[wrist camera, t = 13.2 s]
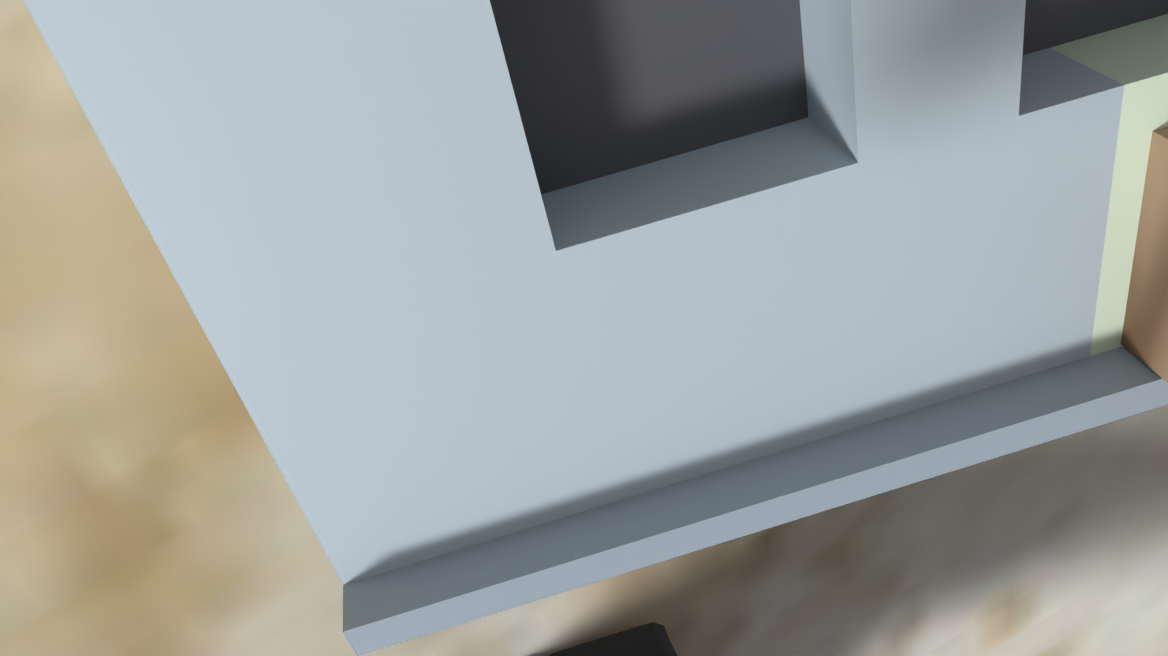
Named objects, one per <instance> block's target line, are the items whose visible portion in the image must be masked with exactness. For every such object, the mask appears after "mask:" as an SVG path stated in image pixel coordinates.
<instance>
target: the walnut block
mask: <svg viewBox="0 0 1168 656" xmlns="http://www.w3.org/2000/svg"><path fill="white" fill-rule="evenodd" d="M1121 344H1122V345H1123V346H1124V347H1125V348H1127V349H1128V350H1129V351H1130V352H1131V353H1133V354H1134V355H1135V356H1136V357H1137V358H1139V359H1140V360H1141V361H1142V362H1143V363H1145V364H1146V365H1147V366H1148V367H1149V368H1150V369H1152V370H1153V371H1154V372H1155V373H1156V374H1158V375H1159V376H1160V377H1161V378H1162V379H1164V380H1165V381H1166V382H1167V383H1168V127H1164V128H1161V129H1158V130H1154V131H1152V137H1151V144H1150V151H1149V157H1148V164H1147V171H1146V178H1145V184H1144V191H1143V198H1142V204H1141V211H1140V218H1139V224H1138V231H1137V238H1136V245H1135V251H1134V258H1133V265H1132V271H1131V278H1130V285H1129V291H1128V298H1127V305H1126V311H1125V318H1124V325H1123V332H1122V338H1121Z"/></svg>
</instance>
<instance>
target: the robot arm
mask: <svg viewBox="0 0 1168 656" xmlns="http://www.w3.org/2000/svg"><path fill="white" fill-rule="evenodd" d="M549 656H677V654H676V652H675V650H674V648H673V646H672V644H671V642H670V640H669V637H668V635H667V633H666V630H665V628H664V626H663V625H660V624H657V623H654V622H652V623H649V624H646V625H643V626H639V627H636V628H633V629H630V630H627V631H623V632H620V633H617V634H614V635H611V636H608V637H604V638H601V639H598V640H595V641H592V642H588V643H585V644H582V645H579V646H576V647H572V648H569V649H566V650H563V651H560V652H556V653H553V654H550V655H549Z"/></svg>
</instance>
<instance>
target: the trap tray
mask: <svg viewBox="0 0 1168 656" xmlns="http://www.w3.org/2000/svg"><path fill="white" fill-rule="evenodd" d="M23 2H24V3H25V5H26V7H27V9H28V11H29V12H30V14H31V16H32V18H33V20H34V22H35V23H36V25H37V27H38V29H39V31H40V33H41V34H42V36H43V38H44V40H45V42H46V43H47V45H48V47H49V49H50V51H51V53H52V54H53V56H54V58H55V60H56V62H57V64H58V65H59V67H60V69H61V71H62V73H63V75H64V76H65V78H66V80H67V82H68V84H69V85H70V87H71V89H72V91H73V93H74V95H75V96H76V98H77V100H78V102H79V104H80V106H81V107H82V109H83V111H84V113H85V115H86V116H87V118H88V120H89V122H90V124H91V126H92V127H93V129H94V131H95V133H96V135H97V137H98V138H99V140H100V142H101V144H102V146H103V148H104V149H105V151H106V153H107V155H108V157H109V158H110V160H111V162H112V164H113V166H114V168H115V169H116V171H117V173H118V175H119V177H120V179H121V180H122V182H123V184H124V186H125V188H126V190H127V191H128V193H129V195H130V197H131V199H132V200H133V202H134V204H135V206H136V208H137V210H138V211H139V213H140V215H141V217H142V219H143V221H144V222H145V224H146V226H147V228H148V230H149V231H150V233H151V235H152V237H153V239H154V241H155V242H156V244H157V246H158V248H159V250H160V252H161V253H162V255H163V257H164V259H165V261H166V263H167V264H168V266H169V268H170V270H171V272H172V273H173V275H174V277H175V279H176V281H177V283H178V284H179V286H180V288H181V290H182V292H183V294H184V295H185V297H186V299H187V301H188V303H189V305H190V306H191V308H192V310H193V312H194V314H195V315H196V317H197V319H198V321H199V323H200V325H201V326H202V328H203V330H204V332H205V334H206V336H207V337H208V339H209V341H210V343H211V345H212V346H213V348H214V350H215V352H216V354H217V356H218V357H219V359H220V361H221V363H222V365H223V367H224V368H225V370H226V372H227V374H228V376H229V378H230V379H231V381H232V383H233V385H234V387H235V388H236V390H237V392H238V394H239V396H240V398H241V399H242V401H243V403H244V405H245V407H246V409H247V410H248V412H249V414H250V416H251V418H252V420H253V421H254V423H255V425H256V427H257V429H258V430H259V432H260V434H261V436H262V438H263V440H264V441H265V443H266V445H267V447H268V449H269V451H270V452H271V454H272V456H273V458H274V460H275V461H276V463H277V465H278V467H279V469H280V471H281V472H282V474H283V476H284V478H285V480H286V482H287V483H288V485H289V487H290V489H291V491H292V493H293V494H294V496H295V498H296V500H297V502H298V503H299V505H300V507H301V509H302V511H303V513H304V514H305V516H306V518H307V520H308V522H309V524H310V525H311V527H312V529H313V531H314V533H315V535H316V536H317V538H318V540H319V542H320V544H321V545H322V547H323V549H324V551H325V553H326V555H327V556H328V558H329V560H330V562H331V564H332V566H333V567H334V569H335V571H336V573H337V575H338V576H339V578H340V580H341V582H342V584H343V632H344V634H345V636H346V638H347V639H348V641H349V643H350V645H351V646H352V648H353V650H354V652H355V653H356V655H357V656H359V655H362V654H365V653H369V652H372V651H375V650H378V649H382V648H385V647H388V646H391V645H394V644H398V643H401V642H404V641H407V640H411V639H414V638H417V637H420V636H423V635H427V634H430V633H433V632H436V631H440V630H443V629H446V628H449V627H452V626H456V625H459V624H462V623H465V622H469V621H472V620H475V619H478V618H481V617H485V616H488V615H491V614H494V613H498V612H501V611H504V610H507V609H510V608H514V607H517V606H520V605H523V604H527V603H530V602H533V601H536V600H539V599H543V598H546V597H549V596H552V595H556V594H559V593H562V592H565V591H568V590H572V589H575V588H578V587H581V586H584V585H588V584H591V583H594V582H597V581H601V580H604V579H607V578H610V577H613V576H617V575H620V574H623V573H626V572H630V571H633V570H636V569H639V568H642V567H646V566H649V565H652V564H655V563H659V562H662V561H665V560H668V559H671V558H675V557H678V556H681V555H684V554H688V553H691V552H694V551H697V550H700V549H704V548H707V547H710V546H713V545H717V544H720V543H723V542H726V541H729V540H733V539H736V538H739V537H742V536H746V535H749V534H752V533H755V532H758V531H762V530H765V529H768V528H771V527H775V526H778V525H781V524H784V523H787V522H791V521H794V520H797V519H800V518H804V517H807V516H810V515H813V514H816V513H820V512H823V511H826V510H829V509H833V508H836V507H839V506H842V505H845V504H849V503H852V502H855V501H858V500H861V499H865V498H868V497H871V496H874V495H878V494H881V493H884V492H887V491H890V490H894V489H897V488H900V487H903V486H907V485H910V484H913V483H916V482H919V481H923V480H926V479H929V478H932V477H936V476H939V475H942V474H945V473H948V472H952V471H955V470H958V469H961V468H965V467H968V466H971V465H974V464H977V463H981V462H984V461H987V460H990V459H994V458H997V457H1000V456H1003V455H1006V454H1010V453H1013V452H1016V451H1019V450H1023V449H1026V448H1029V447H1032V446H1035V445H1039V444H1042V443H1045V442H1048V441H1052V440H1055V439H1058V438H1061V437H1064V436H1068V435H1071V434H1074V433H1077V432H1081V431H1084V430H1087V429H1090V428H1093V427H1097V426H1100V425H1103V424H1106V423H1110V422H1113V421H1116V420H1119V419H1122V418H1126V417H1129V416H1132V415H1135V414H1138V413H1142V412H1145V411H1148V410H1151V409H1155V408H1158V407H1161V406H1164V405H1167V404H1168V383H1167V382H1166V381H1165V380H1164V379H1162V378H1161V377H1160V376H1159V375H1158V374H1156V373H1155V372H1154V371H1153V370H1152V369H1150V368H1149V367H1148V366H1147V365H1146V364H1145V363H1143V362H1142V361H1141V360H1140V359H1139V358H1137V357H1136V356H1135V355H1134V354H1133V353H1131V352H1130V351H1129V350H1128V349H1127V348H1125V347H1124V346H1123V345H1122V344H1121V338H1122V332H1123V325H1124V318H1125V311H1126V305H1127V298H1128V291H1129V285H1130V278H1131V271H1132V265H1133V258H1134V251H1135V245H1136V238H1137V231H1138V224H1139V218H1140V211H1141V204H1142V198H1143V191H1144V184H1145V178H1146V171H1147V164H1148V157H1149V151H1150V144H1151V137H1152V131H1154V130H1158V129H1161V128H1164V127H1168V0H23Z"/></svg>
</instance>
